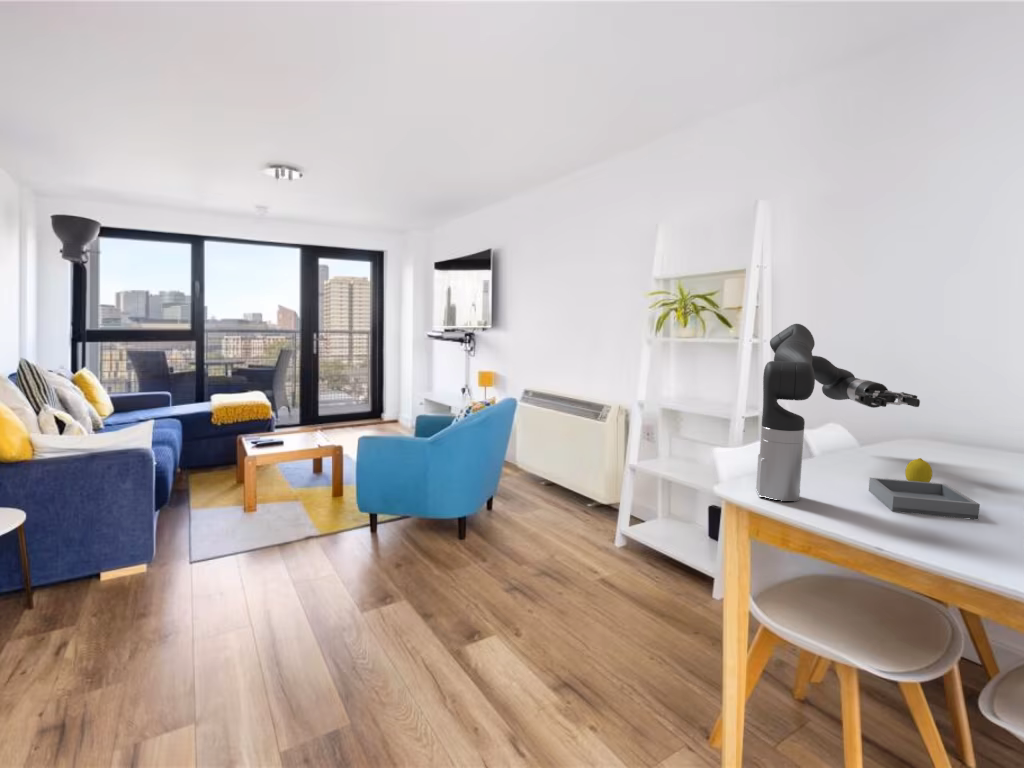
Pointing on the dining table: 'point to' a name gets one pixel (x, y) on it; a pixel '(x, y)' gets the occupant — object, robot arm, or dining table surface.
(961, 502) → the tray
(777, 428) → the robot arm
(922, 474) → the lemon
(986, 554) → the dining table surface
